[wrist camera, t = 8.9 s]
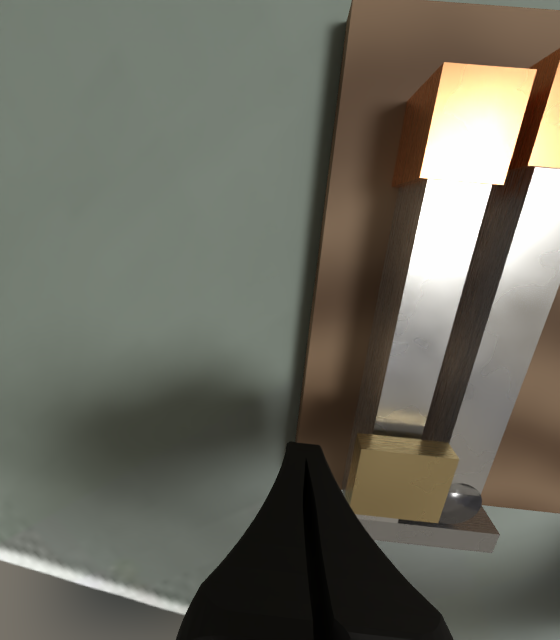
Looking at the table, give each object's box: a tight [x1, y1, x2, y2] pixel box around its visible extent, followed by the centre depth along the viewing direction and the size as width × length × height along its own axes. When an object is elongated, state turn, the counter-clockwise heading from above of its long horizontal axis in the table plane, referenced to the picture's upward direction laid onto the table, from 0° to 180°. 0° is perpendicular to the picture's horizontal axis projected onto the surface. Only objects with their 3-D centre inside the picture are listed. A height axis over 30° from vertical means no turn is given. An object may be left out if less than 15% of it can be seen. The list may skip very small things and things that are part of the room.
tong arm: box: [421, 48, 560, 524], centre depth 13 cm, size 18×3×3 cm, turn 175°
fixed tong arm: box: [342, 62, 537, 553], centre depth 13 cm, size 19×7×3 cm, turn 175°
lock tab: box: [345, 433, 459, 523], centre depth 12 cm, size 3×4×1 cm
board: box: [295, 0, 560, 513], centre depth 15 cm, size 22×16×2 cm
